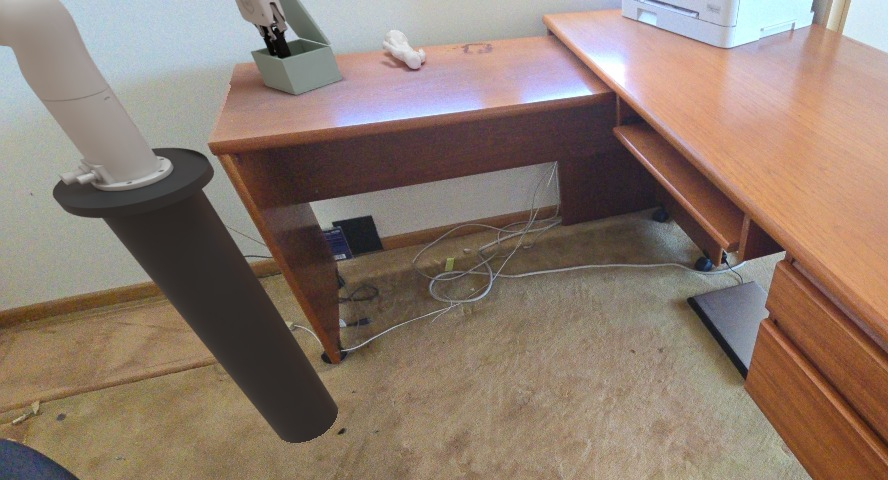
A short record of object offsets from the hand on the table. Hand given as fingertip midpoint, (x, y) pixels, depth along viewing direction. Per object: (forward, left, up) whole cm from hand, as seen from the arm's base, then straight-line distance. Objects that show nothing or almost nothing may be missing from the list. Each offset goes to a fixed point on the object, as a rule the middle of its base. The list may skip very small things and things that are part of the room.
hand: (281, 55), depth 125 cm
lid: (+7, 0, +8) cm, 10 cm away
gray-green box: (+3, 0, -7) cm, 8 cm away
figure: (+30, -8, -7) cm, 32 cm away
